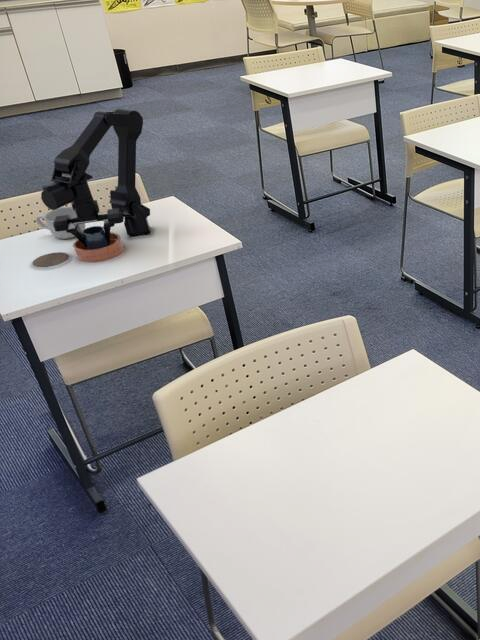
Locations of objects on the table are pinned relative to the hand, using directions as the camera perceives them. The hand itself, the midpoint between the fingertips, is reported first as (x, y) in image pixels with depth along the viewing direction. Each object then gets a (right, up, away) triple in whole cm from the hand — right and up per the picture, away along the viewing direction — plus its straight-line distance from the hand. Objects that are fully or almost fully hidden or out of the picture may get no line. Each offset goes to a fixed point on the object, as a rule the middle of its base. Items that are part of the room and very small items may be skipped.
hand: (98, 245), depth 215 cm
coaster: (-13, -5, -2) cm, 14 cm away
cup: (0, -2, +1) cm, 2 cm away
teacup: (-18, +5, +13) cm, 23 cm away
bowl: (0, -2, +2) cm, 3 cm away
